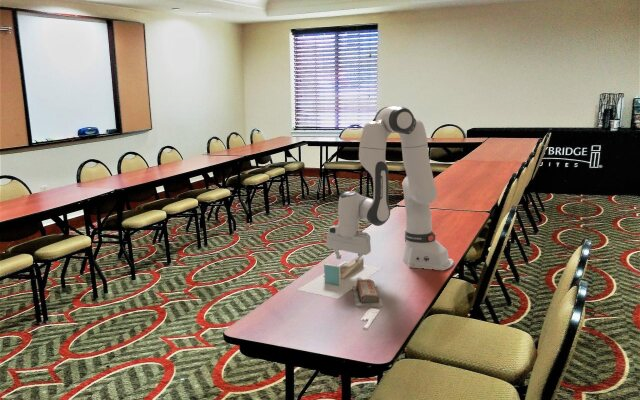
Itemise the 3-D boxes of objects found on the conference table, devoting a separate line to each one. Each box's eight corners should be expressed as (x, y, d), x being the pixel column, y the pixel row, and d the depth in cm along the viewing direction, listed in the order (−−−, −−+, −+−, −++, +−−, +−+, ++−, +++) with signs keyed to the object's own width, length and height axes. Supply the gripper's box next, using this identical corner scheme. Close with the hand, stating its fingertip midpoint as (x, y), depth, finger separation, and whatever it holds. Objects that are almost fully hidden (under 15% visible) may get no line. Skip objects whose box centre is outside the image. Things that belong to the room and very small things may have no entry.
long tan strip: (363, 266, 231) (363, 257, 230) (343, 279, 216) (343, 270, 215) (357, 265, 233) (357, 256, 232) (337, 278, 218) (336, 269, 217)
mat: (381, 268, 228) (381, 267, 228) (337, 299, 197) (337, 298, 197) (344, 262, 239) (344, 261, 238) (296, 290, 207) (296, 289, 207)
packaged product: (351, 278, 206) (376, 277, 206) (351, 290, 207) (376, 289, 207) (355, 296, 189) (383, 295, 189) (355, 309, 190) (383, 308, 190)
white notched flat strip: (353, 328, 175) (353, 325, 175) (367, 310, 189) (366, 307, 188) (367, 330, 173) (367, 327, 173) (380, 312, 187) (380, 309, 186)
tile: (340, 284, 211) (340, 266, 209) (339, 285, 210) (338, 267, 208) (326, 281, 214) (325, 263, 213) (324, 282, 213) (323, 264, 212)
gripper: (373, 231, 217) (373, 263, 220) (332, 224, 228) (332, 254, 231) (366, 235, 212) (366, 267, 215) (324, 228, 223) (324, 258, 226)
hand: (348, 260), depth 223 cm, fingers open, 8 cm apart
